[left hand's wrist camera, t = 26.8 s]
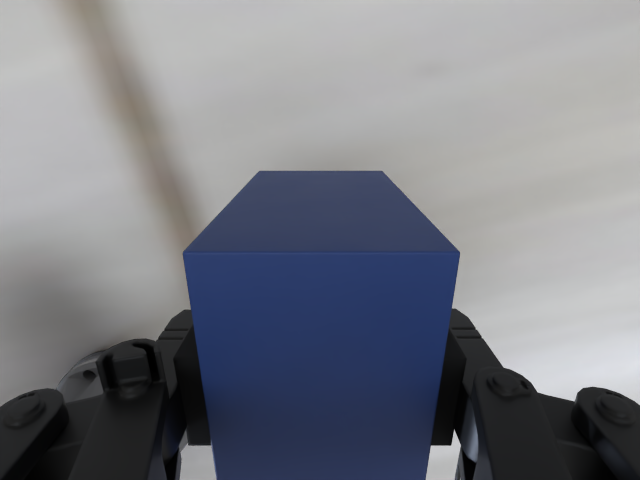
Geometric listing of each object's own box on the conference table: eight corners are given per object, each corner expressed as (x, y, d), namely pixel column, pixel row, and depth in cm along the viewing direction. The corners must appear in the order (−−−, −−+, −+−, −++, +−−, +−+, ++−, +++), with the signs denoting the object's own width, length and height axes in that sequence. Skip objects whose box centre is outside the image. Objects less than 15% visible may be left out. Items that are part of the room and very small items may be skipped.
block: (372, 337, 18) (417, 537, 9) (269, 337, 18) (224, 538, 9) (382, 170, 15) (461, 251, 7) (258, 170, 15) (181, 251, 7)
